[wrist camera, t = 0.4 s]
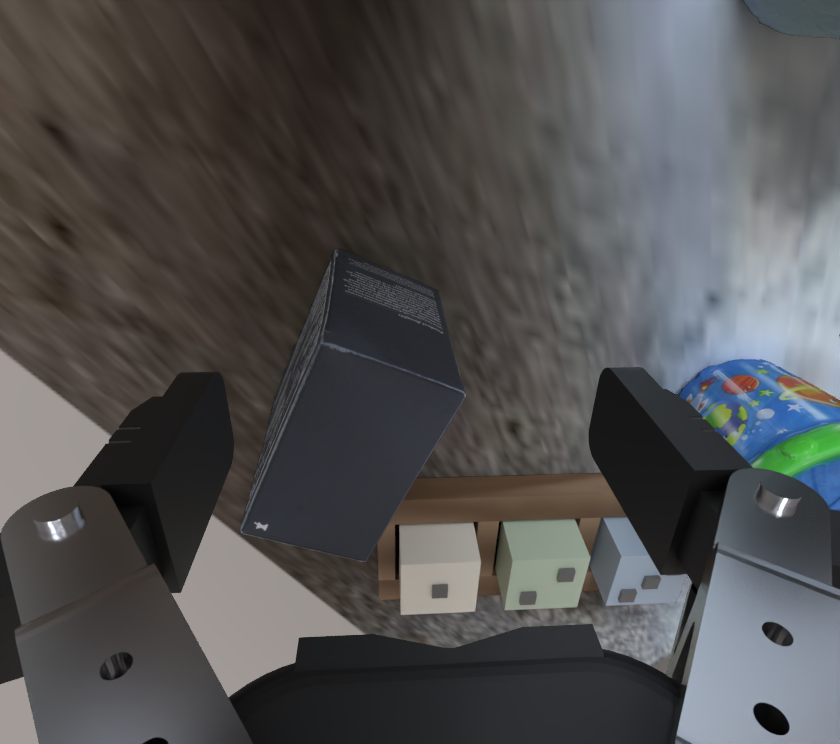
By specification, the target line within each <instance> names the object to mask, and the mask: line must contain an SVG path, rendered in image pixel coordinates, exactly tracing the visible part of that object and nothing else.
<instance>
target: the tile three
mask: <svg viewBox="0 0 840 744" xmlns="http://www.w3.org/2000/svg"><path fill="white" fill-rule="evenodd" d="M589 566H590V568H591V571H592V573H593V576H594V578H595V581H596V583H597V586H598V588H599V591H600V593H601V596H602V598H603V601H604V603H605V606H612V605H634V604H656V603H676V602H677V600H678V597H679V595H680V593H681V590H682V588H683V586H684V583H685V581H686V579H687V576H688V575H687V574H678V575H660V573H659V572H658V570H657V568H656V566H655V565H654V563H653V561H652V559H651V558H650V556H649V554H648V552H647V551H646V549H645V547H644V545H643V544H642V542H641V540H640V539H639V537H638V535H637V533H636V532H635V530H634V528H633V526H632V525H631V523H630V521H629V519H628V518H627V517H606V518H601V520H600V524H599V528H598V531H597V535H596V539H595V542H594V546H593V549H592V553H591V558H590V562H589Z"/></svg>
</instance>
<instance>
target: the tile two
mask: <svg viewBox="0 0 840 744" xmlns="http://www.w3.org/2000/svg"><path fill="white" fill-rule="evenodd" d="M590 558H591V557H590V555H589V552H588V550H587V548H586V545H585V543H584V540H583V538H582V535H581V533H580V530H579V528H578V526H577V523H576V521H575V519H547V520H518V521H501V528H500V535H499V542H498V549H497V557H496V564H495V570H496V574H497V579H498V583H499V588H500V592H501V597H502V601H503V606H504V610H522V609H545V608H567V607H577V605H578V601H579V598H580V594H581V591H582V587H583V583H584V580H585V576H586V573H587V569H588V565H589V562H590Z"/></svg>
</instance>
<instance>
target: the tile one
mask: <svg viewBox="0 0 840 744" xmlns="http://www.w3.org/2000/svg"><path fill="white" fill-rule="evenodd" d="M480 567H481V559H480V554H479V549H478V544H477V538H476V533H475V528H474V523H473V522H459V523H429V524H399V580H400V607H401V615H411V614H433V613H455V612H475V608H476V600H477V592H478V583H479V575H480Z"/></svg>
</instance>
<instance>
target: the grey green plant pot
mask: <svg viewBox="0 0 840 744" xmlns="http://www.w3.org/2000/svg"><path fill="white" fill-rule="evenodd" d="M744 2H745V3H746V5H747V6H748V8H749V9H750V11H751V12H752V14H754V15H755V16H757V17H758V18H759V23H762V24H764V25H768V26H769V27H771V28H772V29H774V30H776V31H778V32H781V33H785V34H789V35H797V36H807V37H833V38H835V39H840V0H744Z"/></svg>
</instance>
